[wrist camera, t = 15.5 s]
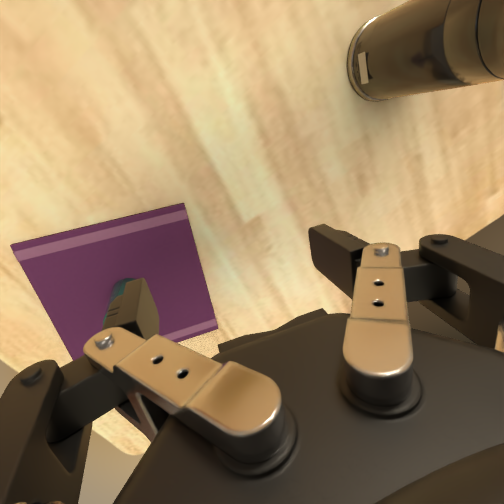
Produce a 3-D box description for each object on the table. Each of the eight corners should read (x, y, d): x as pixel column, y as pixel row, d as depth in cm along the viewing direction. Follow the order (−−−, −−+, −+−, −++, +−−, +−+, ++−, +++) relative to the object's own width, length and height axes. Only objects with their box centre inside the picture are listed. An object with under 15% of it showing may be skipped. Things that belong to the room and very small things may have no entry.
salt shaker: (140, 273, 40) (137, 304, 32) (151, 301, 41) (150, 336, 34) (106, 283, 39) (95, 317, 32) (117, 311, 40) (110, 349, 33)
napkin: (183, 202, 38) (184, 203, 38) (218, 327, 46) (218, 329, 46) (11, 244, 34) (9, 245, 34) (81, 372, 42) (80, 375, 42)
